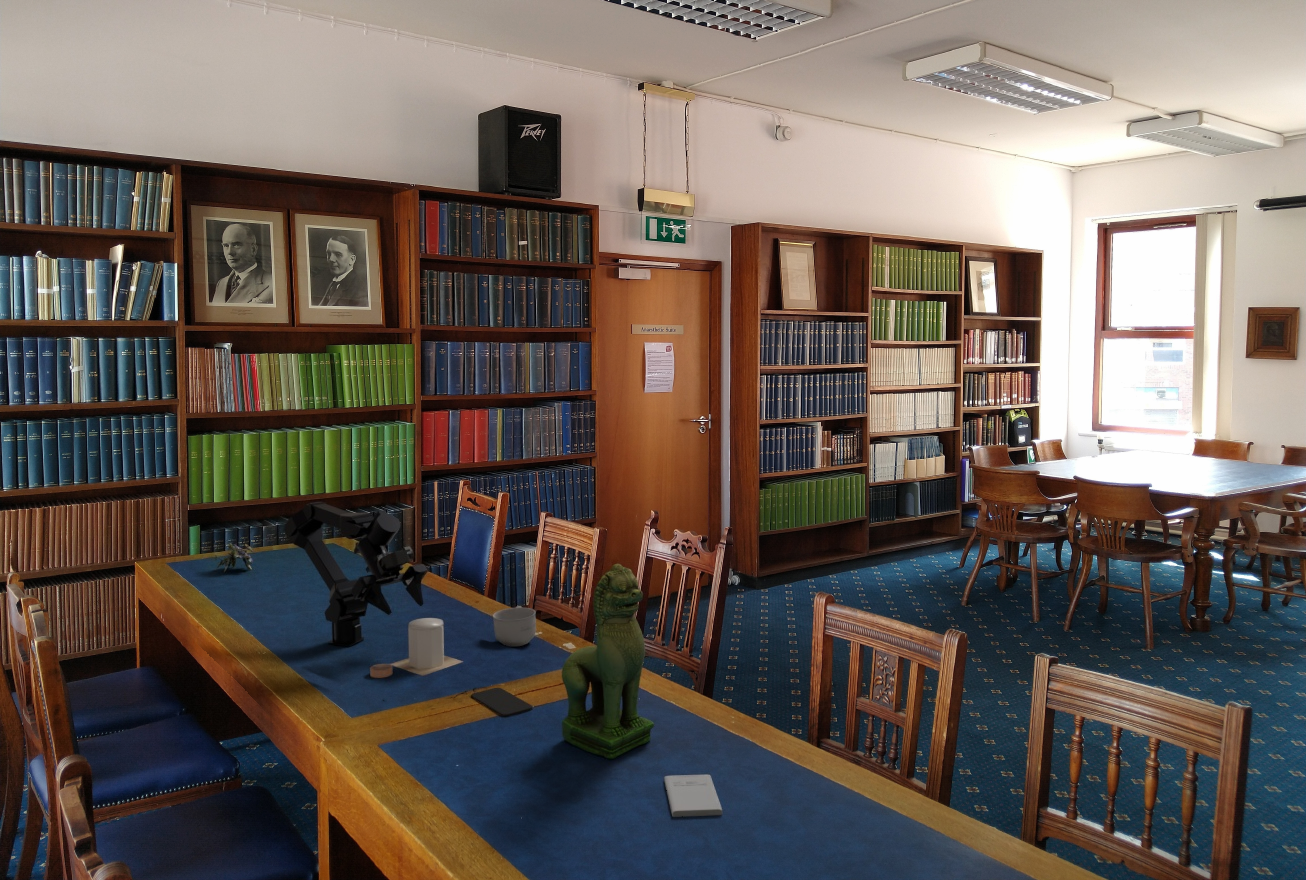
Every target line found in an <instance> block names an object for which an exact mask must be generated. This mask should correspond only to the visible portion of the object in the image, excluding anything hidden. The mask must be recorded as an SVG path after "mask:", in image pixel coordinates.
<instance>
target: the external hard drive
mask: <svg viewBox="0 0 1306 880" xmlns="http://www.w3.org/2000/svg"><path fill="white" fill-rule="evenodd" d="M663 781H664V786H665V789H666V790H667V791H666V795H667V799H668V803H669V807H670V812H671V815H672V816H671V817H673V818H676V817H677V818H680V817H682V816H683V817H700V816H701V817H704V816H705V817H707V816H723V809H722V808H723V807H722V805H721V802H720V800H719V796H718V794H717V791H716V787H715V786H714V781H713V780H712V776H711V775H710V774H689V775H688V774H686V775H684V774H683V775H679V774H678V775H665V776H664V780H663Z"/></svg>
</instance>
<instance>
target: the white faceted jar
mask: <svg viewBox="0 0 1306 880" xmlns="http://www.w3.org/2000/svg"><path fill="white" fill-rule="evenodd" d="M407 628H408V658H409V666H411V667H414V668H417V669H425V668H434V667H437V666H440V665H443V661H444V656H445V651H444V650H445V648H444V646H445V641H444V640H445V639H444V633H445V632H444V620H443V619H440V618H437V617H435V618H434V617H425V618H423V617H422V618H417V619H413V620H411V621H410V622H408V627H407Z"/></svg>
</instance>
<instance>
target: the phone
mask: <svg viewBox="0 0 1306 880" xmlns="http://www.w3.org/2000/svg"><path fill="white" fill-rule="evenodd" d="M470 696H471V698H472V699H474V700H475V701H477V702H478V703H480V704H481V705H483V706H485V707H486V708H488V709H489V710H491V711H493V712H494V713H495V714H497V715H499V716H501V717H504V718H507V717H512V716H515V715H519V714H522V713H523V714H524V713H526V712H530V711H532V710H533V708H534V706H533V705H532V704H530V703H528V702H527V701H524V700H523V699H521V698H520V697H518V696H516V695H514V694H512V693H510V692H509V691H507V690H506V689H504V688H502V687H494V688H489V689H486V690H481V691H477V692H474V693H471V695H470Z"/></svg>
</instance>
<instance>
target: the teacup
mask: <svg viewBox="0 0 1306 880" xmlns="http://www.w3.org/2000/svg"><path fill="white" fill-rule="evenodd" d="M536 613H537V612H536V610H535V609H534V608H529V607H522V606H521V605H517V606H515V607H510V608H504V609H501V610H498V611H496V612H494V613H493V614H492V619H493V631H494V636H495V639H496V640H497V641H498V642H499V643H501V644H502V645H503V646H505V645H506V647H520V646H522V647H523V646H524V645H527V644H528V643H530V641H531V640H532V639H533V638H535V636H536V633H537V632H536V631H537V622H536Z"/></svg>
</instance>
